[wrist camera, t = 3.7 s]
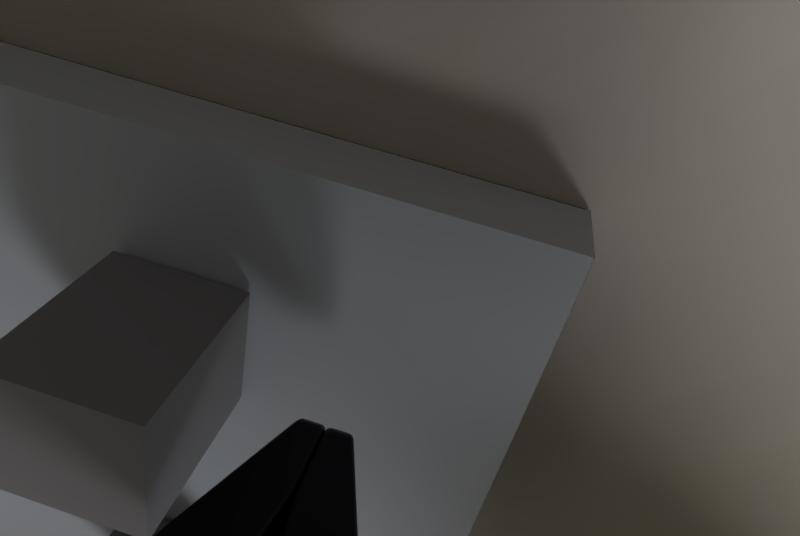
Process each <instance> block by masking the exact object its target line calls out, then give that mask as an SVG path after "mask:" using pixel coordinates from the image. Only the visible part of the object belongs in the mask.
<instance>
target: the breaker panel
mask: <svg viewBox="0 0 800 536" xmlns="http://www.w3.org/2000/svg"><path fill="white" fill-rule="evenodd" d="M112 251H117V252H120V253H123V254H126V255H129V256H133V257H136V258H139V259H142V260H145V261H149V262H152V263H155V264H158V265H162V266H165V267H168V268H171V269H174V270H178V271H181V272H184V273H187V274H190V275H194V276H197V277H200V278H203V279H206V280H210V281H213V282H216V283H219V284H222V285H226V286H229V287H232V288H235V289H238V290H242V291H245V292H248V293H250V301H249V312H248V324H247V335H246V346H245V358H244V369H243V381H242V392H241V398H240V400H239V401H238V403H237V405H236V406H235V408H234V409H233V411H232V412H231V414H230V415H229V417H228V418H227V420H226V422H225V423H224V425H223V426H222V428H221V429H220V431H219V432H218V434H217V436H216V437H215V439H214V440H213V442H212V443H211V445H210V446H209V448H208V450H207V451H206V453H205V454H204V456H203V457H202V459H201V460H200V462H199V464H198V465H197V467H196V468H195V470H194V471H193V473H192V474H191V476H190V478H189V479H188V481H187V482H186V484H185V485H184V487H183V488H182V490H181V491H180V493H179V495H178V496H177V498H176V499H175V501H174V502H173V504H172V505H171V507H170V509H169V510H168V512H167V513H166V515H165V516H164V518H163V519H164V520H166V521H169V522H171V521H172V520H173V519H174V518H176V517H177V516H178V515H179V514H180V513H182V512H183V511H184V510H185V509H187V508H188V507H189V506H190V505H192V504H193V503H194V502H195V501H197V500H198V499H199V498H200V497H202V496H203V495H204V494H205V493H207V492H208V491H209V490H210V489H212V488H213V487H214V486H215V485H217V484H218V483H219V482H220V481H222V480H223V479H224V478H225V477H227V476H228V475H229V474H230V473H232V472H233V471H234V470H235V469H236V468H238V467H239V466H240V465H241V464H243V463H244V462H245V461H246V460H248V459H249V458H250V457H251V456H253V455H254V454H255V453H256V452H258V451H259V450H260V449H261V448H263V447H264V446H265V445H266V444H268V443H269V442H270V441H271V440H273V439H274V438H275V437H276V436H278V435H279V434H280V433H281V432H283V431H284V430H285V429H286V428H288V427H289V426H290V425H291V424H293V423H294V422H295V421H297V420H298V419H301V418H303V419H307V420H310V421H313V422H316V423H319V424H322V425H324V427H325V429H327V428H335V429H338V430H341V431H344V432H347V433H350V434H351V435H352V436H353V438H354V457H355V480H356V503H357V526H358V536H469V534H470V532H471V530H472V527H473V525H474V523H475V521H476V519H477V516H478V514H479V512H480V510H481V508H482V505H483V503H484V501H485V499H486V497H487V494H488V492H489V490H490V488H491V486H492V483H493V481H494V479H495V477H496V475H497V472H498V470H499V468H500V466H501V464H502V461H503V459H504V457H505V455H506V453H507V450H508V448H509V446H510V444H511V442H512V439H513V437H514V435H515V433H516V431H517V428H518V426H519V424H520V422H521V420H522V417H523V415H524V413H525V411H526V409H527V406H528V404H529V402H530V400H531V398H532V395H533V393H534V391H535V389H536V387H537V384H538V382H539V380H540V378H541V376H542V373H543V371H544V369H545V367H546V365H547V362H548V360H549V358H550V356H551V354H552V351H553V349H554V347H555V345H556V343H557V340H558V338H559V336H560V334H561V332H562V329H563V327H564V325H565V323H566V321H567V318H568V316H569V314H570V312H571V310H572V307H573V305H574V303H575V301H576V299H577V296H578V294H579V292H580V290H581V288H582V285H583V283H584V281H585V279H586V277H587V274H588V272H589V270H590V268H591V266H592V263H593V261H594V259H595V253H594V243H593V232H592V221H591V211H588V210H584V209H581V208H577V207H574V206H571V205H567V204H564V203H560V202H557V201H553V200H550V199H546V198H543V197H539V196H536V195H532V194H529V193H525V192H522V191H518V190H515V189H511V188H508V187H504V186H501V185H497V184H494V183H491V182H487V181H484V180H480V179H477V178H473V177H470V176H466V175H463V174H459V173H456V172H452V171H449V170H445V169H442V168H438V167H435V166H431V165H428V164H424V163H421V162H417V161H414V160H411V159H407V158H404V157H400V156H397V155H393V154H390V153H386V152H383V151H379V150H376V149H372V148H369V147H365V146H362V145H358V144H355V143H351V142H348V141H344V140H341V139H337V138H334V137H331V136H327V135H324V134H320V133H317V132H313V131H310V130H306V129H303V128H299V127H296V126H292V125H289V124H285V123H282V122H278V121H275V120H271V119H268V118H264V117H261V116H257V115H254V114H251V113H247V112H244V111H240V110H237V109H233V108H230V107H226V106H223V105H219V104H216V103H212V102H209V101H205V100H202V99H198V98H195V97H191V96H188V95H184V94H181V93H177V92H174V91H170V90H167V89H164V88H160V87H157V86H153V85H150V84H146V83H143V82H139V81H136V80H132V79H129V78H125V77H122V76H118V75H115V74H111V73H108V72H104V71H101V70H97V69H94V68H90V67H87V66H84V65H80V64H77V63H73V62H70V61H66V60H63V59H59V58H56V57H52V56H49V55H45V54H42V53H38V52H35V51H31V50H28V49H24V48H21V47H17V46H14V45H10V44H7V43H4V42H0V339H1V338H2V337H4V336H5V335H6V334H7V333H9V332H10V331H11V330H13V329H14V328H15V327H16V326H18V325H19V324H20V323H22V322H23V321H24V320H25V319H27V318H28V317H29V316H30V315H32V314H33V313H34V312H36V311H37V310H38V309H39V308H41V307H42V306H43V305H45V304H46V303H47V302H48V301H50V300H51V299H52V298H53V297H55V296H56V295H57V294H59V293H60V292H61V291H62V290H64V289H65V288H66V287H68V286H69V285H70V284H71V283H73V282H74V281H75V280H76V279H78V278H79V277H80V276H82V275H83V274H84V273H85V272H87V271H88V270H89V269H91V268H92V267H93V266H94V265H96V264H97V263H98V262H99V261H101V260H102V259H103V258H105V257H106V256H107V255H108V254H110V253H111V252H112ZM113 530H114V529H112V528H109V527H106V526H103V525H100V524H97V523H95V522H92V521H89V520H86V519H83V518H80V517H77V516H75V515H72V514H69V513H66V512H63V511H60V510H57V509H55V508H52V507H49V506H46V505H43V504H40V503H37V502H35V501H32V500H29V499H26V498H23V497H20V496H18V495H15V494H12V493H9V492H6V491H3V490H0V536H110V534H111V533H112V531H113Z"/></svg>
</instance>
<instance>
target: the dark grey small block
mask: <svg viewBox="0 0 800 536" xmlns="http://www.w3.org/2000/svg"><path fill="white" fill-rule="evenodd" d="M168 523H169V521H166V520H164V519H162V521H161V523H160V524H159V526H158V527H157V529H156V530H155V532H154V533H153V535H154V534H156V533H157V532H158V531H159V530H161V529H162V528H163V527H164V526H166V525H167V524H168ZM153 535H152V536H153ZM110 536H132V535H129V534H126V533H123V532H120V531H117V530H113V531H112V533H111V534H110Z"/></svg>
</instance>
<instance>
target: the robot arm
mask: <svg viewBox="0 0 800 536" xmlns="http://www.w3.org/2000/svg"><path fill="white" fill-rule="evenodd" d="M153 536H358V526H357V503H356V480H355V457H354V438H353V436H352V435H351V434H350V433H347V432H344V431H341V430H338V429H335V428H327V429H325V427H324V425H322V424H319V423H316V422H313V421H310V420H307V419H303V418H301V419H298V420H297V421H295V422H294V423H293V424H291V425H290V426H289V427H288V428H286V429H285V430H284V431H283V432H281V433H280V434H279V435H278V436H276V437H275V438H274V439H273V440H271V441H270V442H269V443H268V444H266V445H265V446H264V447H263V448H261V449H260V450H259V451H258V452H256V453H255V454H254V455H253V456H251V457H250V458H249V459H248V460H246V461H245V462H244V463H243V464H241V465H240V466H239V467H238V468H236V469H235V470H234V471H233V472H232V473H230V474H229V475H228V476H227V477H225V478H224V479H223V480H222V481H220V482H219V483H218V484H217V485H215V486H214V487H213V488H212V489H210V490H209V491H208V492H207V493H205V494H204V495H203V496H202V497H200V498H199V499H198V500H197V501H195V502H194V503H193V504H192V505H190V506H189V507H188V508H187V509H185V510H184V511H183V512H182V513H180V514H179V515H178V516H177V517H176V518H174V519H173V520H172V521H171V522H169V523H168V524H167V525H166V526H164V527H163V528H162V529H161V530H159V531H158V532H157V533H156V534H154V535H153Z"/></svg>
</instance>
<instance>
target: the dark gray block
mask: <svg viewBox="0 0 800 536" xmlns="http://www.w3.org/2000/svg"><path fill="white" fill-rule="evenodd" d="M249 301H250V293H248V292H245V291H242V290H238V289H235V288H232V287H229V286H226V285H222V284H219V283H216V282H213V281H210V280H206V279H203V278H200V277H197V276H194V275H190V274H187V273H184V272H181V271H178V270H174V269H171V268H168V267H165V266H162V265H158V264H155V263H152V262H149V261H145V260H142V259H139V258H136V257H133V256H129V255H126V254H123V253H120V252H117V251H112V252H111V253H110V254H108V255H107V256H106V257H105V258H103V259H102V260H101V261H99V262H98V263H97V264H96V265H94V266H93V267H92V268H91V269H89V270H88V271H87V272H85V273H84V274H83V275H82V276H80V277H79V278H78V279H76V280H75V281H74V282H73V283H71V284H70V285H69V286H68V287H66V288H65V289H64V290H62V291H61V292H60V293H59V294H57V295H56V296H55V297H53V298H52V299H51V300H50V301H48V302H47V303H46V304H45V305H43V306H42V307H41V308H39V309H38V310H37V311H36V312H34V313H33V314H32V315H30V316H29V317H28V318H27V319H25V320H24V321H23V322H22V323H20V324H19V325H18V326H16V327H15V328H14V329H13V330H11V331H10V332H9V333H7V334H6V335H5V336H4V337H2V338H1V339H0V490H3V491H6V492H9V493H12V494H15V495H18V496H20V497H23V498H26V499H29V500H32V501H35V502H37V503H40V504H43V505H46V506H49V507H52V508H55V509H57V510H60V511H63V512H66V513H69V514H72V515H75V516H77V517H80V518H83V519H86V520H89V521H92V522H95V523H97V524H100V525H103V526H106V527H109V528H112V529H114V530H117V531H120V532H123V533H126V534H129V535H132V536H152V535H153V533H154V532H155V530H156V529H157V527H158V526H159V524H160V523H161V521H162V519H163V518H164V516H165V515H166V513H167V512H168V510H169V509H170V507H171V505H172V504H173V502H174V501H175V499H176V498H177V496H178V495H179V493H180V491H181V490H182V488H183V487H184V485H185V484H186V482H187V481H188V479H189V478H190V476H191V474H192V473H193V471H194V470H195V468H196V467H197V465H198V464H199V462H200V460H201V459H202V457H203V456H204V454H205V453H206V451H207V450H208V448H209V446H210V445H211V443H212V442H213V440H214V439H215V437H216V436H217V434H218V432H219V431H220V429H221V428H222V426H223V425H224V423H225V422H226V420H227V418H228V417H229V415H230V414H231V412H232V411H233V409H234V408H235V406H236V405H237V403H238V401H239V400H240V398H241V392H242V381H243V369H244V358H245V346H246V335H247V324H248V312H249Z"/></svg>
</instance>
